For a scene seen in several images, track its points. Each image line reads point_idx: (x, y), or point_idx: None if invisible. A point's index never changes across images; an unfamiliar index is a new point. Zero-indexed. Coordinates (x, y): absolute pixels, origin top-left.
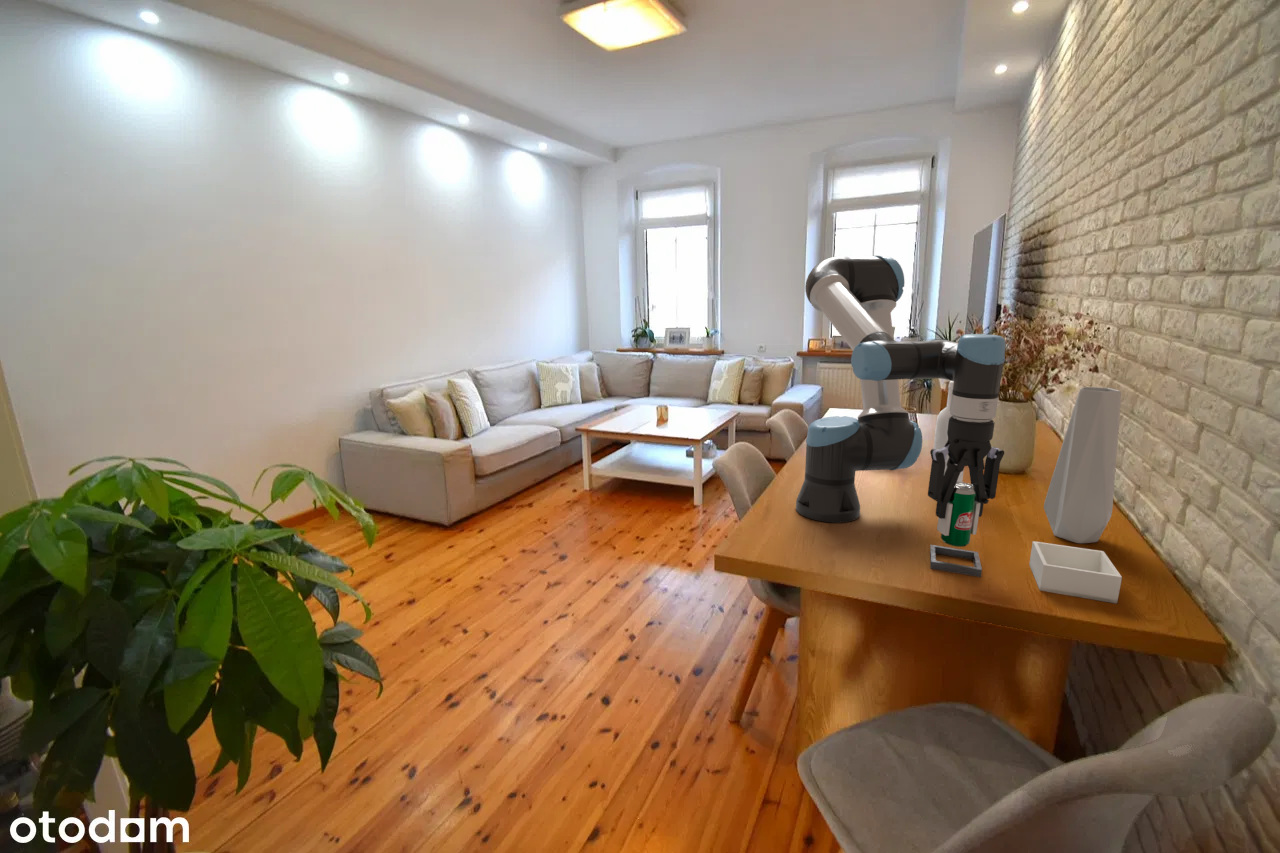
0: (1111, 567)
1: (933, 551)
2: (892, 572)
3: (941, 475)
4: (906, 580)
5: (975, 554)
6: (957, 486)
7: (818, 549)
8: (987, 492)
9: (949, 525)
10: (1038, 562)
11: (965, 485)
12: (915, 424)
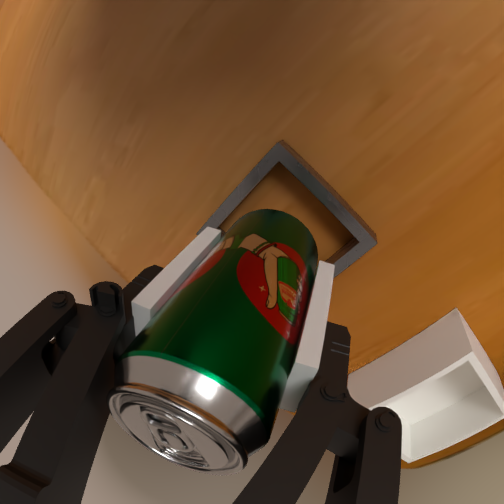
0: (439, 448)
1: (246, 187)
2: (118, 208)
3: (5, 428)
4: (127, 245)
5: (353, 252)
6: (132, 427)
7: (49, 75)
8: (347, 453)
9: None
10: (385, 386)
11: (189, 449)
12: None
